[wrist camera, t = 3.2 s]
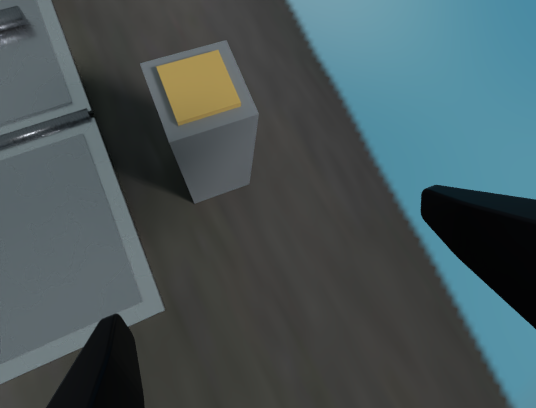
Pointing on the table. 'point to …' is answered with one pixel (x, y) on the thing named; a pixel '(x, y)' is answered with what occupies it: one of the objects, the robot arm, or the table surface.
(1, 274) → the case
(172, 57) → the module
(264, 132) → the table surface
